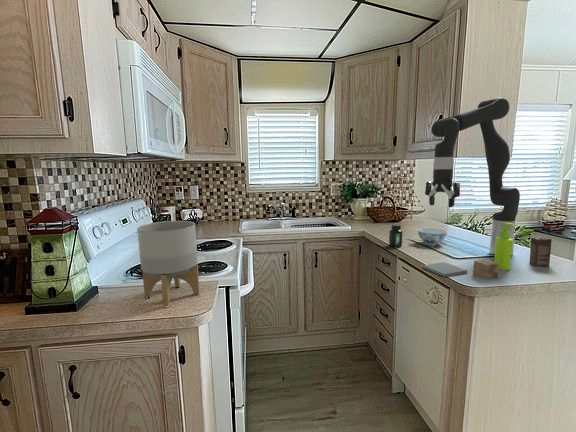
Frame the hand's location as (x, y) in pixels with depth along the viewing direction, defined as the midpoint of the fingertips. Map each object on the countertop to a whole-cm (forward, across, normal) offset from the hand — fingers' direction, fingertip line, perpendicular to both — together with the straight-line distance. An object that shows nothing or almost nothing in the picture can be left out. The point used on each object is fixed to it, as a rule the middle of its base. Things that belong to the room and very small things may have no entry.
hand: (441, 206), depth 136 cm
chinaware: (+28, +25, -34) cm, 50 cm away
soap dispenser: (+28, -18, -20) cm, 38 cm away
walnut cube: (+27, -18, -4) cm, 33 cm away
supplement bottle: (+27, +34, -13) cm, 45 cm away
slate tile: (+27, -5, +3) cm, 28 cm away
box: (+28, -24, -38) cm, 53 cm away
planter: (+26, +36, +106) cm, 115 cm away
